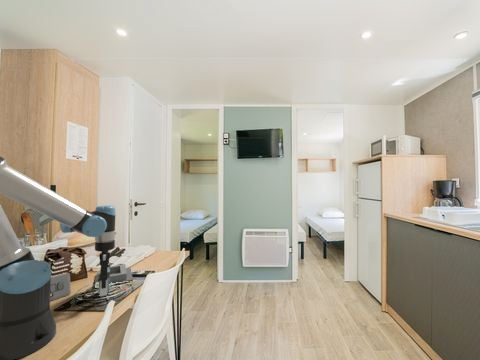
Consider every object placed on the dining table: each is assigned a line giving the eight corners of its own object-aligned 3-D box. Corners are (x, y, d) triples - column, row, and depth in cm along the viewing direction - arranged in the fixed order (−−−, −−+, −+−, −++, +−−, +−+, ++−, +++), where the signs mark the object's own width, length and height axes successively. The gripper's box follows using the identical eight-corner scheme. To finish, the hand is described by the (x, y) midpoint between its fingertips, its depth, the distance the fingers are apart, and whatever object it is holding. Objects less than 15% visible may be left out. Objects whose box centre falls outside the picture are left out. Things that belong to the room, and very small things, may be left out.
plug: (109, 294, 94) (109, 271, 95) (98, 297, 92) (98, 273, 93) (109, 290, 98) (109, 268, 98) (98, 292, 96) (99, 270, 96)
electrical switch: (42, 304, 87) (42, 280, 88) (39, 300, 90) (40, 278, 91) (71, 294, 94) (71, 273, 95) (67, 292, 97) (67, 271, 98)
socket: (132, 281, 107) (133, 273, 107) (94, 289, 99) (94, 280, 99) (130, 269, 123) (130, 262, 123) (96, 275, 115) (97, 267, 115)
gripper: (115, 246, 87) (113, 299, 86) (114, 234, 108) (113, 276, 108) (92, 248, 83) (91, 304, 83) (96, 235, 105) (95, 279, 104)
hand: (104, 288), depth 95 cm, fingers open, 13 cm apart
